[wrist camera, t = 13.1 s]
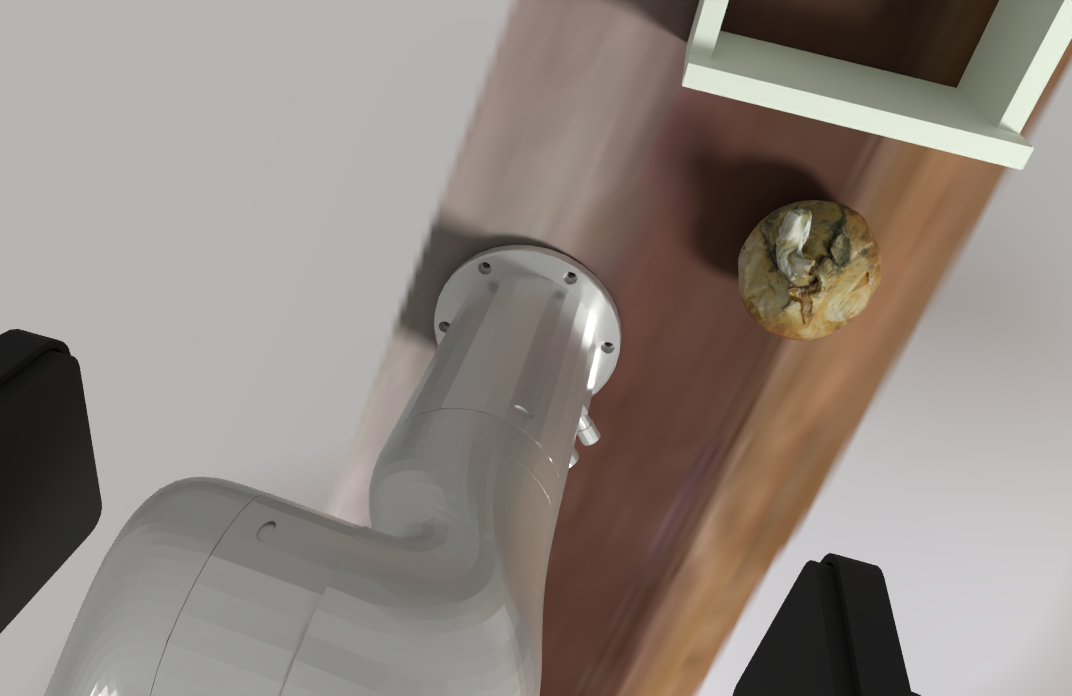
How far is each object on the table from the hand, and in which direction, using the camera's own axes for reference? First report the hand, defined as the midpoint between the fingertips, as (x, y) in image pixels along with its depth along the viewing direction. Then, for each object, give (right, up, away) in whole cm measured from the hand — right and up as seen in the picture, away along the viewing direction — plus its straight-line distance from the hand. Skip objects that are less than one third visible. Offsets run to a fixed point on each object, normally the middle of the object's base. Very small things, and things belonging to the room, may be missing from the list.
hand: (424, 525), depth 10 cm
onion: (+17, +9, +37) cm, 42 cm away
